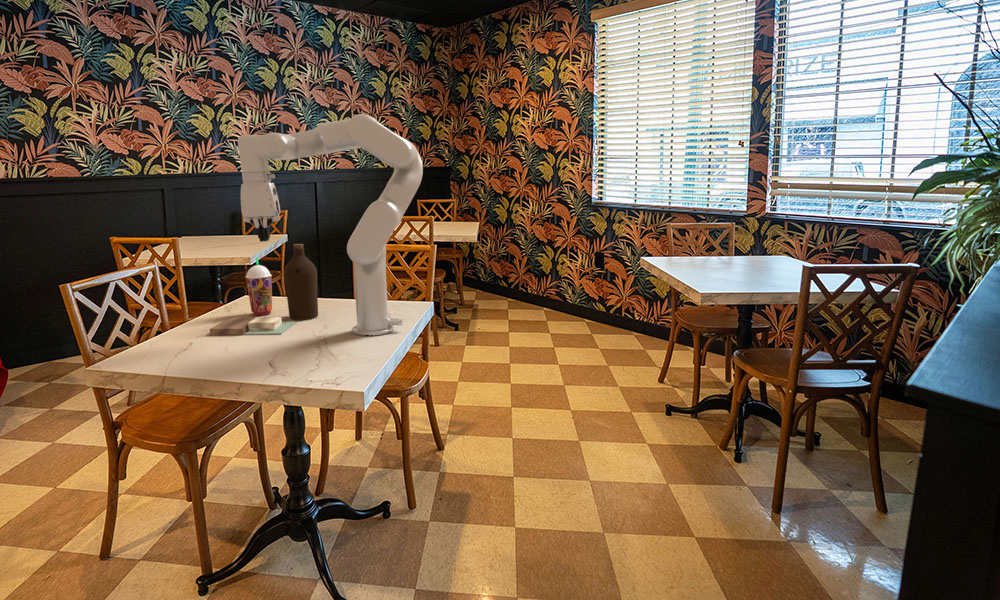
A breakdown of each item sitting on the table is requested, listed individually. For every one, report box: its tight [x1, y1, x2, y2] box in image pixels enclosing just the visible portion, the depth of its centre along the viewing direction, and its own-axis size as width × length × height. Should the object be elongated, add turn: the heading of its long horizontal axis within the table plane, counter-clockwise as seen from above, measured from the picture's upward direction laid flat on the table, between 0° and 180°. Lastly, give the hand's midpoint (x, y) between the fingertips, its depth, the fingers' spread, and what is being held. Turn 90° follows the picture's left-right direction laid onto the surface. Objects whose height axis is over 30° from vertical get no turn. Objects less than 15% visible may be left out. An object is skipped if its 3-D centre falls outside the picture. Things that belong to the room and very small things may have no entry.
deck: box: [209, 317, 256, 336], centre depth 189 cm, size 10×14×2 cm
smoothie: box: [245, 256, 273, 317], centre depth 206 cm, size 8×8×20 cm
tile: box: [248, 316, 283, 331], centre depth 189 cm, size 8×7×2 cm
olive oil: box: [283, 243, 319, 321], centre depth 201 cm, size 11×11×25 cm
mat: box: [244, 321, 296, 336], centre depth 189 cm, size 11×14×1 cm
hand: (264, 240), depth 178 cm, fingers closed
